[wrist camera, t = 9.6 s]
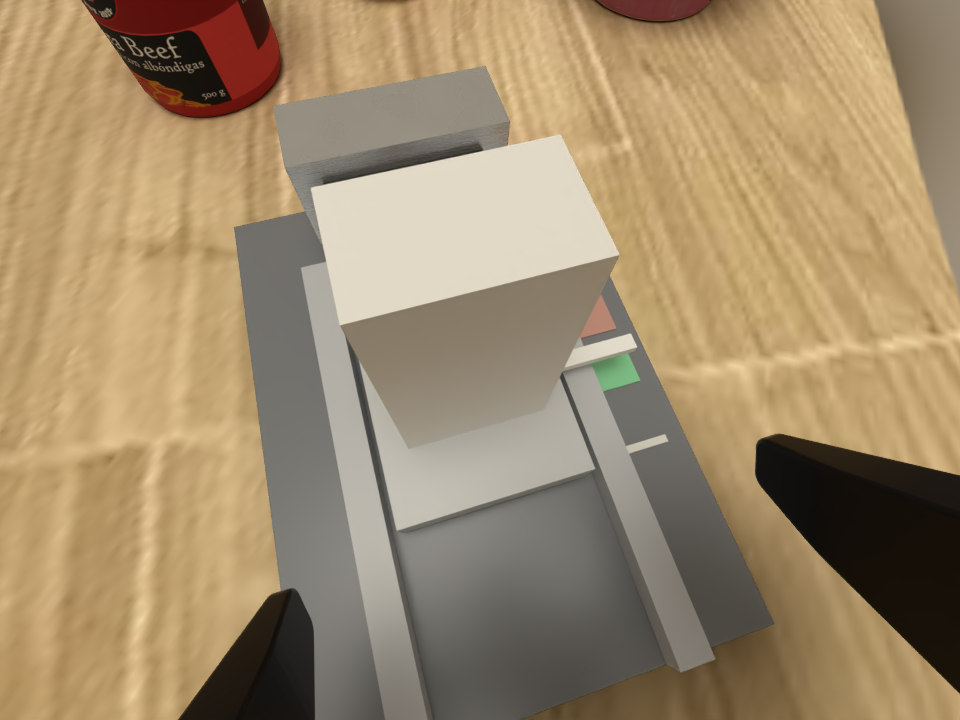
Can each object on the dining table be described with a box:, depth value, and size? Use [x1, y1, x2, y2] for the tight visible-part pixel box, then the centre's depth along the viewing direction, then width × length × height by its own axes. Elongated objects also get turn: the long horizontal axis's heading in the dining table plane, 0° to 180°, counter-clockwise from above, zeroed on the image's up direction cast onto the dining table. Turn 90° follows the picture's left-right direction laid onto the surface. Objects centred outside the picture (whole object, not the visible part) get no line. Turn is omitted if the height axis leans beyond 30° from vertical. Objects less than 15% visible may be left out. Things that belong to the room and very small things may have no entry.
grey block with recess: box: [273, 66, 510, 247], centre depth 20 cm, size 3×8×6 cm, turn 107°
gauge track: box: [234, 212, 774, 720], centre depth 19 cm, size 22×16×2 cm
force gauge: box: [311, 135, 637, 533], centre depth 14 cm, size 8×10×11 cm
